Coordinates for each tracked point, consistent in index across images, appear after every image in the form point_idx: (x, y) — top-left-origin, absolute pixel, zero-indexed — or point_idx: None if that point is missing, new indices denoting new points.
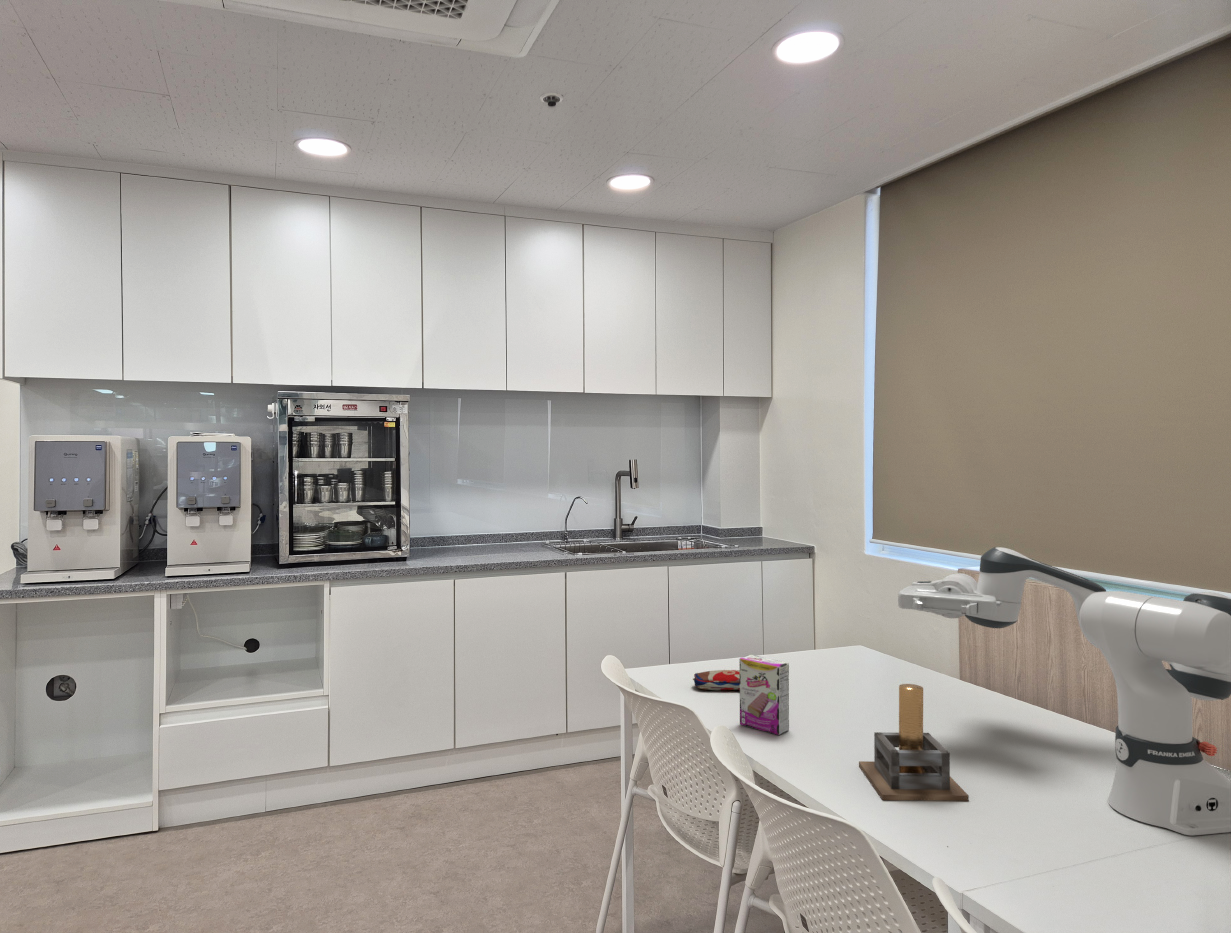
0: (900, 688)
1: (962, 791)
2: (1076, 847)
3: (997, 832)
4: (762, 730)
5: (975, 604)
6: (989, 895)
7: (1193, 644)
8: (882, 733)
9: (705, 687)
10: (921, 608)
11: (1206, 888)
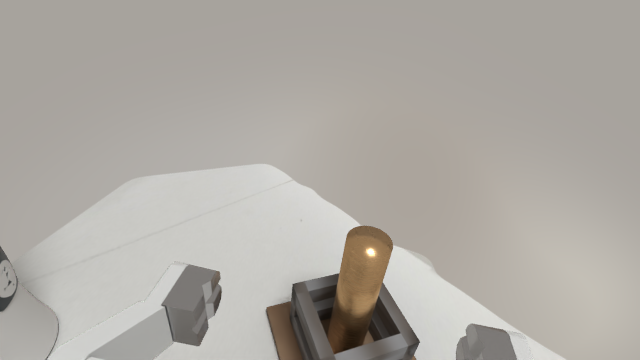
0: (386, 235)
1: (272, 318)
2: (180, 240)
3: (250, 249)
4: None
5: (75, 338)
6: (278, 178)
7: None
8: (405, 341)
9: None
10: (459, 341)
11: (102, 207)
